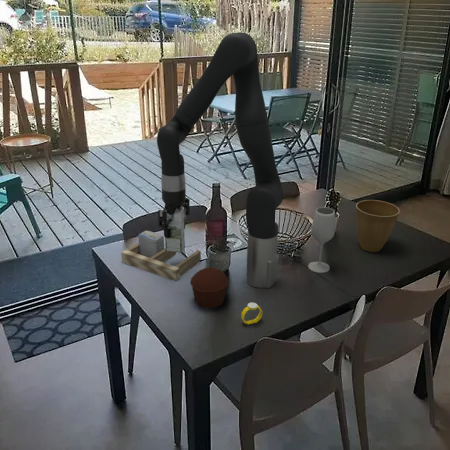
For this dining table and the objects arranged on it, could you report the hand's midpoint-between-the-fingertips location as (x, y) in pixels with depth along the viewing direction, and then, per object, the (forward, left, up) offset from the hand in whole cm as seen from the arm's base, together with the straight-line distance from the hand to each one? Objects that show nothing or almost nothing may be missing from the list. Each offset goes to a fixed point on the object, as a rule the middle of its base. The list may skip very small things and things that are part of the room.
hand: (175, 233), depth 160 cm
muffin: (-21, +12, -12) cm, 27 cm away
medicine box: (+10, 0, -12) cm, 16 cm away
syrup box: (0, 0, -6) cm, 6 cm away
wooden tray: (+5, +1, -12) cm, 13 cm away
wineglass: (-42, -24, -12) cm, 50 cm away
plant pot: (-53, -48, -12) cm, 73 cm away
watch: (-37, +15, -12) cm, 41 cm away
